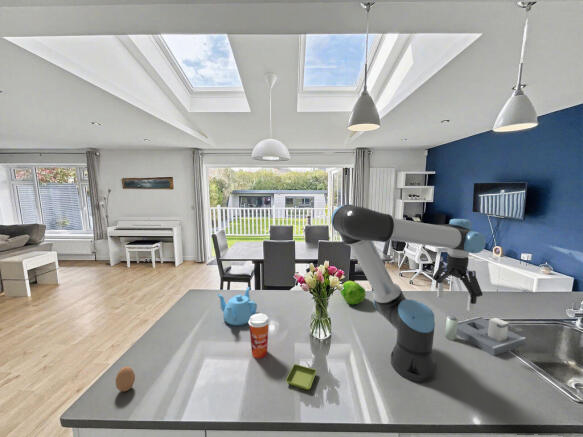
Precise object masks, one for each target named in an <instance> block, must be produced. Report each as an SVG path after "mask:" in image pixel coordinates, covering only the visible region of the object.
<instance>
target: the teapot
mask: <svg viewBox="0 0 583 437" xmlns="http://www.w3.org/2000/svg"><path fill="white" fill-rule="evenodd" d="M216 295H217V297H219V300H220V309H221V311H222V312H223V320H224V321H225V322H226V323H227V324H228V325H231V326H236V327H237V326H244V325H247V324H249V323H248V322H249V320H250V317H251V316H252V315H254V314H259V313H258V312H257V309H258V304H257V302H255V301H253V300H251V299H250V298H251V297H250V286H248V287H246V289H245V292H244V295H242V294H237V295H235V296H232V297H231V298H230V299H229V300H228V301H227V303H226V300H225V298H224V296H223V295H222V294H220V293H216Z"/></svg>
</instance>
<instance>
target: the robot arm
mask: <svg viewBox="0 0 583 437" xmlns="http://www.w3.org/2000/svg"><path fill="white" fill-rule="evenodd" d="M330 219H331V221H330V222H331V226H332V227H333V229H334V230H335V231H336V232H338V234H339V236H340V237H341V239H342V241H343V243H344V245H347V246H350V248H351V250H352V252H353V254H354V256H355V257H356V260H357V261H358V263H359V265H360V267H361V270H362V272H363V273H364V275H365V277H366V279H367V281H368V283H369V284H370V287H371V289H372V290H373V293H372V298H373V306H374V307H375V309H376V310H377V312H378V314H379V315H380V316H383V318H385V320H387V321H388V323H389V324H391V325H392V326H393V328H394V329H396V342H395V345H394V347H393V349H392V352H391V354H390V364H391V368H393V370H394V371H395V372H396V373H398V374H399V375H400V376H401V377H403V378H405V379H407V380H409V381H413V382H416V383H431V382H433V381H434V380H436V378H437V371H438V370H437V365H436V362H435V358H434V353H433V348H434V347H433V345H434V344H433V343H434V335H435V326H436V322H435V314H434V311H433V309H431V308H430V307H429V306H428V305H427V304H425V303H423V302H419V300H418V301H417V300H414V299H407V298H406V296H405V294H404V293H403V291H402V289H401V287H400V286H399V285H398V284H397V283H394V281H393V279H392V277H391V275H390V272H389V271H388V269H387V267H386V265H385V263H384V262H383V260H382V258H381V255H380V253H379V251H378V249H377V247H376V245H375V243H374V242H382V243H387V242H389V241H395V242H401V243H402V242H403V243H408V244H414V245H415V244H416V245H424V246H430V247H431V246H432V247H437V248H444V249H447V251H446V252H447V253H446V254H447V255H446V261H441V262H440V263H439V267H438V268H437V270H436V272H435V273H434V275H433V276H432V280H434V281H435V282H436V286H435V288H436V290H437V292H436V297H437V298H441V297H443V296H444V285H445V284H444V280H446V279H448V278H449V277H450V276H451V277H455V278H457V279H459V280H461V282H462V283H463V285H464V287H465V288H466V290H467V291H468V293H469V294H468V295H467V296H468V297H467V306H466V311H467V312H471V311H472V312H473V311H474V309H475V305H476V304H477V299H478V298H479V297H482V296H483V294H484V293H483V291H482V288H481V286H480V284H479V281H478V278H477V275H476V273H477V272H476V271H475V270H468V267H469V260H470V259H469V256H470V254H479V253H481V252H482V251H483V250H484V249H485V248H486V243H487V239H486V237H485V235H484V234H483V233H480V232H477V231H474V230H472V222H471V220H470V219H464V218H452V219H450V220H449V223H448V224H433V223H432V224H431V223H426V222H425V223H424V222H419V221H413V220H407V219H402V218H394V216H392V215H391V214H389V213H384V212H381V211H380V212H379V211H376V210H373V209H370V208H367V207H364V206H359V205H354V204H342V205H340V206H338V207H336V208H335V209H334V211H333V212H332V214H331V217H330ZM445 270H446V271H445ZM444 271H445V272H444Z"/></svg>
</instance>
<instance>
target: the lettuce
mask: <svg viewBox="0 0 583 437" xmlns="http://www.w3.org/2000/svg"><path fill="white" fill-rule="evenodd" d="M342 285H343V287H344V289H343V290H341V289H340V294H341V296H342V298H343V299H344V301H345V302H346V303H348V304H349V305H351V306H353V305H354V306H355V305H358V304H361V303H362V301H364V300H365V298H366V289H365V288H364V287H363V286H362V285H361V284H360V283H358V282H356V281H354V280H353V281H352V280H347V281H345V282H344V283H343V284H342Z"/></svg>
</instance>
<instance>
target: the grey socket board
mask: <svg viewBox="0 0 583 437" xmlns="http://www.w3.org/2000/svg"><path fill="white" fill-rule="evenodd" d="M488 327H489V320H487V319H485V318H483V317H482V316H476V317H473V318H472V317H471V318H469V319H465V320H460V321H458V324H457V335H456V336H459V337H460V338H462V339H463V340H466V341H467V342H469V343H471V344H472V345H474V346H476V347H477V348H479V349H481V350H483V351H484V352H485V353H488V354H489V355H491V356H494V357H495V356H497V355H501V354H503V353H506V352H509V351H511V350H510V349H512V350H515V349H518V348H521V347H524V346H526V342H527V341H526V340H527V337H526V336H521V335H519V334H517V333H515V332H514V331H510V330H509V329H508V331H507V340H505V341H502V342H499V341H497V340H495V339H493V338H491V337H489V336H488Z"/></svg>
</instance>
